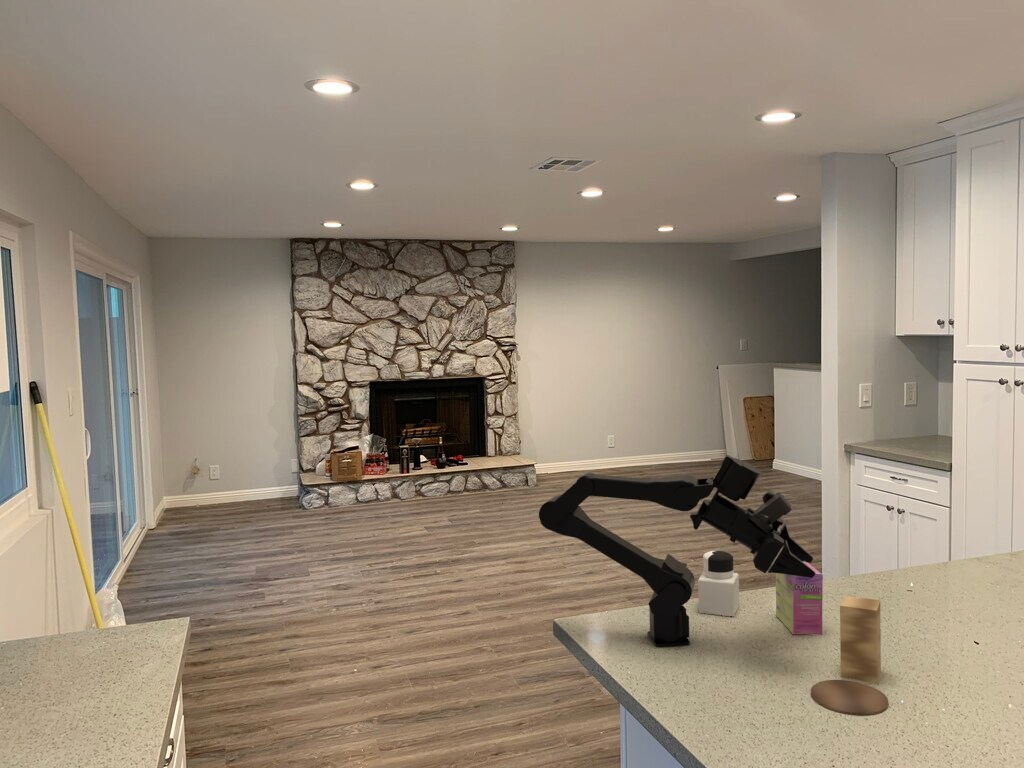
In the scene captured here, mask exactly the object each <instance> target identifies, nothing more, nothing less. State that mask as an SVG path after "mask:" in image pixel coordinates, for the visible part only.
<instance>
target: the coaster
mask: <svg viewBox="0 0 1024 768" xmlns="http://www.w3.org/2000/svg"><path fill="white" fill-rule="evenodd" d="M810 696H811V698H812V700H813V701H814V702H815V703H817V704H818V705H820V706H821V707H823V708H825V709H828V710H830V711H832V712H835V713H840V714H844V715H851V716H873V715H877V714H881V713H883V712H885V711H886V710H887V709H888V707H889V699H888V697H887V695H886V694H885V693H884V692H882V691H881V690H879V689H878V688H876V687H873V686H871V685H868V684H866V683H862V682H858V681H854V680H847V679H826V680H822V681H819V682H816V683H815V684H813V685H812V686H811V688H810Z"/></svg>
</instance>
